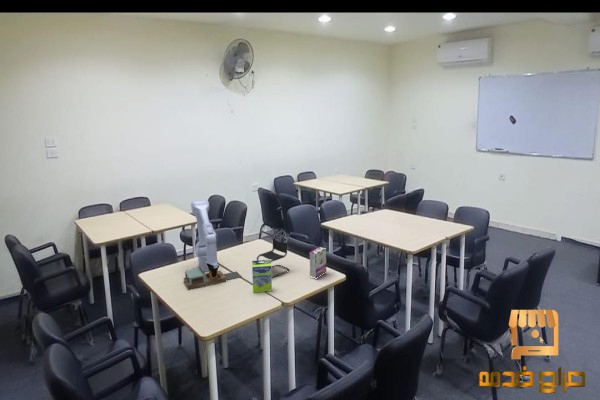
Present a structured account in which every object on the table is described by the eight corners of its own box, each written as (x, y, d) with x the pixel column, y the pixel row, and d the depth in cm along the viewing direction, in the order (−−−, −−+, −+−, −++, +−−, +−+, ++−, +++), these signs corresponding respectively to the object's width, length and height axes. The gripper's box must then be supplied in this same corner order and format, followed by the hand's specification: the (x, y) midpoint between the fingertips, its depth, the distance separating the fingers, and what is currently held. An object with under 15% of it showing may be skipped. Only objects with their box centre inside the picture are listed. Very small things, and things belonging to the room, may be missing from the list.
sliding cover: (185, 277, 229) (184, 267, 227) (200, 274, 233) (200, 264, 231) (189, 284, 219) (189, 274, 217) (205, 281, 223) (205, 271, 221)
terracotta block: (209, 279, 232) (208, 270, 231) (215, 278, 234) (215, 269, 232) (211, 282, 228) (210, 273, 227) (217, 280, 230) (217, 271, 229)
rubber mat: (222, 274, 238) (222, 274, 238) (236, 271, 242) (236, 271, 242) (227, 280, 230) (227, 279, 230) (241, 277, 234) (241, 276, 234)
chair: (291, 271, 243) (291, 237, 238) (270, 279, 231) (269, 244, 226) (278, 265, 252) (277, 232, 247) (256, 273, 240) (255, 239, 235)
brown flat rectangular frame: (183, 281, 229) (183, 277, 228) (220, 274, 239) (220, 270, 238) (188, 289, 219) (188, 285, 218) (226, 281, 229) (226, 277, 228)
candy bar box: (319, 271, 241) (319, 246, 238) (326, 273, 238) (326, 248, 235) (309, 277, 233) (309, 251, 229) (316, 280, 230) (316, 253, 226)
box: (253, 293, 214) (251, 263, 210) (252, 289, 218) (251, 260, 214) (272, 291, 216) (271, 262, 212) (271, 288, 220) (270, 259, 216)
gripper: (201, 251, 232) (203, 272, 235) (208, 259, 219) (209, 281, 222) (213, 249, 235) (214, 270, 238) (220, 256, 222) (221, 278, 226)
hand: (213, 275), depth 230 cm, fingers closed on terracotta block, 4 cm apart
